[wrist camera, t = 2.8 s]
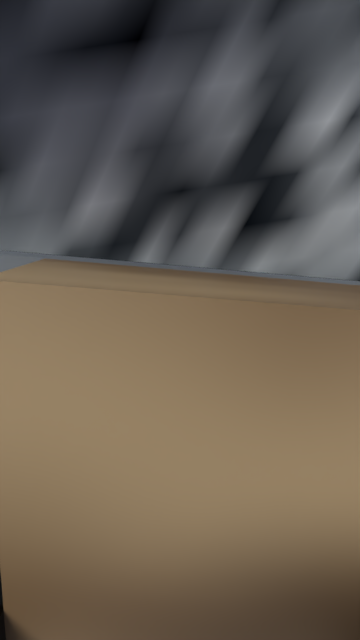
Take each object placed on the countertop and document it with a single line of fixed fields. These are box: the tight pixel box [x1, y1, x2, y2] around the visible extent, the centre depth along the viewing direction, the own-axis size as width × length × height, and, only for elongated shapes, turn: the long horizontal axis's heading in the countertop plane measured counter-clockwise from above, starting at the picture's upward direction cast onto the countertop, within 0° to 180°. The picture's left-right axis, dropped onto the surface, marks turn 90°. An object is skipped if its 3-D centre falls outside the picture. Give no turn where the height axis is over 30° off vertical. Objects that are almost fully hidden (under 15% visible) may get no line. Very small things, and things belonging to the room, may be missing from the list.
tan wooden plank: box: [0, 258, 360, 640], centre depth 7 cm, size 12×6×2 cm, turn 175°
